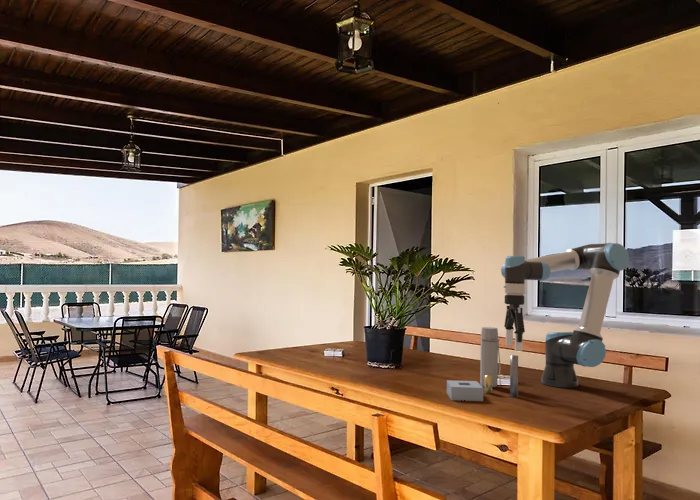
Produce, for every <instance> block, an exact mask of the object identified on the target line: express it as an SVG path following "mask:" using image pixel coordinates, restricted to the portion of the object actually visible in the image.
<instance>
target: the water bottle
mask: <svg viewBox="0 0 700 500" xmlns="http://www.w3.org/2000/svg"><path fill="white" fill-rule="evenodd" d="M480 331H481V332H480V337H479V338H480V364H479V366H480V370H479V371H480V376H479V378H480V380H479V382H480V383H479V384H480V385H481V386H482V387H483V388H484V377H485V375H492V389H493V387H494V388H496V387H497V386H498V377H499V375H501V370H502V369H501V368H502V367H501V357H500V348H499V345H500V344H499V342H500V339H499V332H498V331H499V330H498V328H497V327H494V326H493V327H492V326H484V327H483V326H482V327H481V330H480ZM498 366H499V370H498ZM498 371H499V372H498Z"/></svg>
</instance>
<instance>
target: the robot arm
mask: <svg viewBox="0 0 700 500" xmlns="http://www.w3.org/2000/svg"><path fill="white" fill-rule="evenodd" d="M629 262H630V257H629V253H628V251H627V249H626V248H625V246H623V245H622V244H621V243H617V242H606V243H605V242H604V243H590V244H589V243H588V244H585V245H582V246H578V247H574V248H569V249H566V250H564V252H560V253H555V254H548V255H544V256H540V257H539V256H538V257H533V258H527V259H526V258H525V256H523V255H507V256H506V257H505V260H504V263H503V264H502V265H501V267H500V273H501V276H502V278H503V279H504V285H503V289H504V293H505V295H504V304H505V305H506V312H505V313H506V314H505V319H504V328H505V346H506V347H508V346H509V347H513V346H514V351H516V352H519V351H520V352H523V349H524V348H523V347H524V346H523V345H524V344H523V343H524V342H523V340H524V339H523V337H524V335H523V334H524V333H525V332H526V329H525V323H524V315H523V310H524V309H523V307H520V306H524V305H525V294H526V293H525V292H526V291H525V289H526V287H525V286H526V284H525V282H526V281H546V280H548V279H549V278H550V276H551V273H554V272H559V271H565V270H570V271H576V270H584V271H585V270H586V271H588V272H590V274H591V278H590V281H589V286H588V290H587V293H586V297H585V299H584V300H585V301H584V304H583V308H582V312H581V315H580V319H579V323H578V327H577V328H575V329H573V331H561V332H559V331H558V332H557V331H555V332H547V333H546V335H545V341H544V342H545V343H544V345H545V348H544V350H545V366H544V368H543V372H542V375H541V380H540V381H541V382H540V383H542V384H543V385H545V386H549V387H556V388H577V387H579V379H578V377H577V373H576V371H575V365H578V366H581V367H584V368H585V367H586V368H595V367H597V366H599V365H601V364H602V363H603V361H604V360H605V357H606V355H607V349H606V345H605V343H604V342H603V339H604V338H603V335H602V334H601V330H602V327H603V322H604V319H605V315H606V312H607V308H608V305H609V304H608V303H609V299H610V295H611V292H612V289H613V288H612V287H613V283H614V280H615V279H618V278H619V276H620V272H621V271H624V270H625V269H627V268H628V266H629ZM514 330H515V331H514Z"/></svg>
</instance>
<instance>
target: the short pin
mask: <svg viewBox="0 0 700 500" xmlns="http://www.w3.org/2000/svg"><path fill="white" fill-rule="evenodd" d="M483 394H486V395H488V394H489V395H490V394H493V388H492V375H485V377H484V387H483Z"/></svg>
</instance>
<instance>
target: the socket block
mask: <svg viewBox="0 0 700 500" xmlns="http://www.w3.org/2000/svg"><path fill="white" fill-rule="evenodd" d="M446 395H447V396H448V397H449V399H450V400H451V401H461V400H462V401H463V402H464V400H465V402H466V401H467V402H484V387H483V386H481V384H480V383H479V382H478V381H477V380H450V379H448V380H446Z"/></svg>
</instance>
